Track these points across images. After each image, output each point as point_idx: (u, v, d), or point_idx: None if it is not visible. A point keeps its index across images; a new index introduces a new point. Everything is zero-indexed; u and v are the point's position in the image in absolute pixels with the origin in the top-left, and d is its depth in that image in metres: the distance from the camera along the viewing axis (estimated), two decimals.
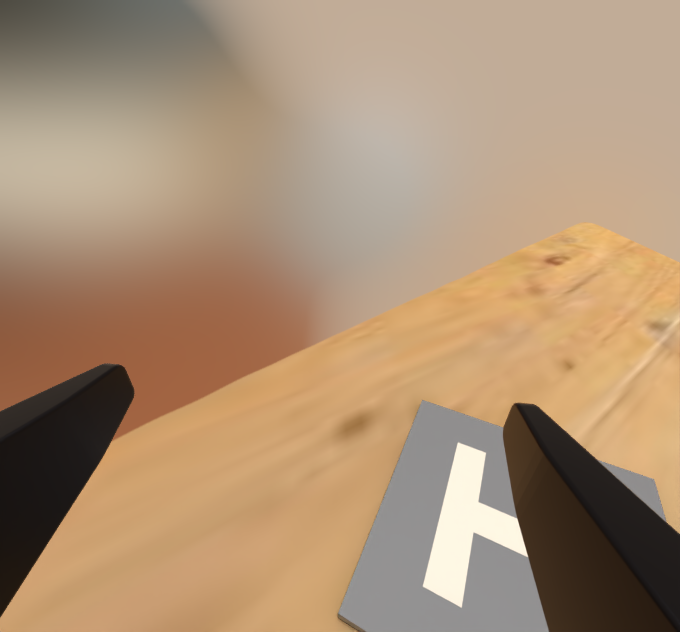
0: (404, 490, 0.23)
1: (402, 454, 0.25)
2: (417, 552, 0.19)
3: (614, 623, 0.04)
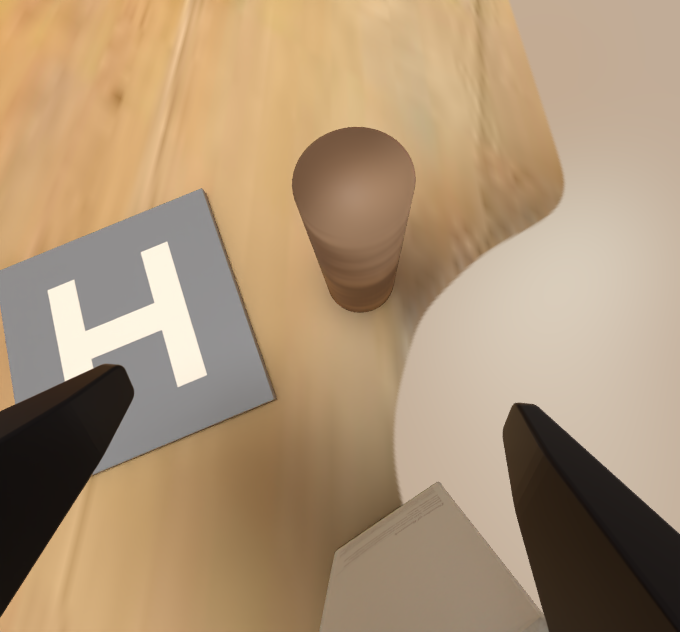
0: (26, 376, 0.23)
1: (8, 346, 0.23)
2: None
3: (614, 623, 0.04)
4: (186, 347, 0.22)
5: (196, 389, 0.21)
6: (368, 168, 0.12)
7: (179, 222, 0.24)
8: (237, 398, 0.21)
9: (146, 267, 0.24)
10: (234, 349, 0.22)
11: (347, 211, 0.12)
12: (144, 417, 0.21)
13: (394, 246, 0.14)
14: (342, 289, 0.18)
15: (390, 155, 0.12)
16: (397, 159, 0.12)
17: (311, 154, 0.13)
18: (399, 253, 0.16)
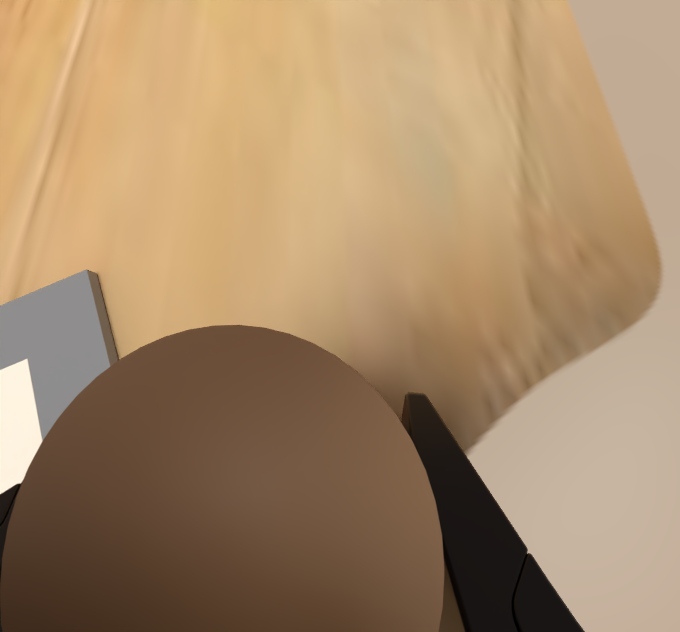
0: None
1: None
2: None
3: None
4: None
5: None
6: (269, 500, 0.03)
7: (49, 326, 0.15)
8: None
9: None
10: None
11: None
12: None
13: None
14: None
15: (350, 450, 0.03)
16: (375, 469, 0.03)
17: (83, 427, 0.04)
18: None
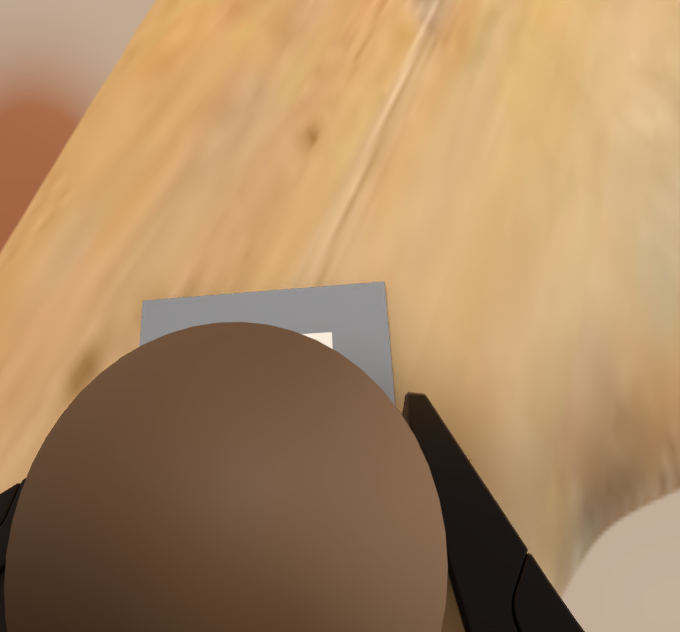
0: None
1: None
2: None
3: None
4: None
5: None
6: (274, 497, 0.03)
7: (350, 314, 0.21)
8: None
9: None
10: None
11: None
12: None
13: None
14: None
15: (354, 446, 0.03)
16: (379, 465, 0.03)
17: (87, 423, 0.04)
18: None
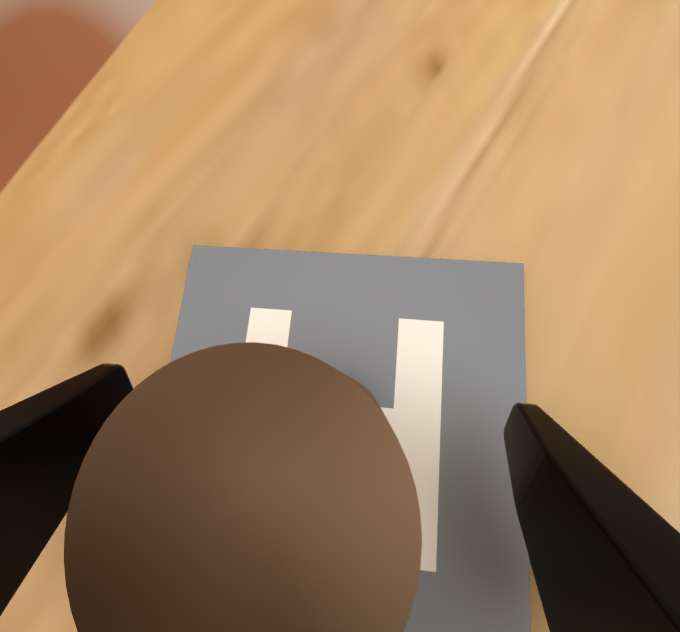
0: None
1: None
2: None
3: (615, 624, 0.04)
4: None
5: None
6: (282, 486, 0.04)
7: (472, 301, 0.16)
8: None
9: (399, 346, 0.15)
10: (492, 553, 0.13)
11: None
12: None
13: None
14: None
15: (347, 445, 0.04)
16: (367, 461, 0.04)
17: (128, 426, 0.04)
18: None
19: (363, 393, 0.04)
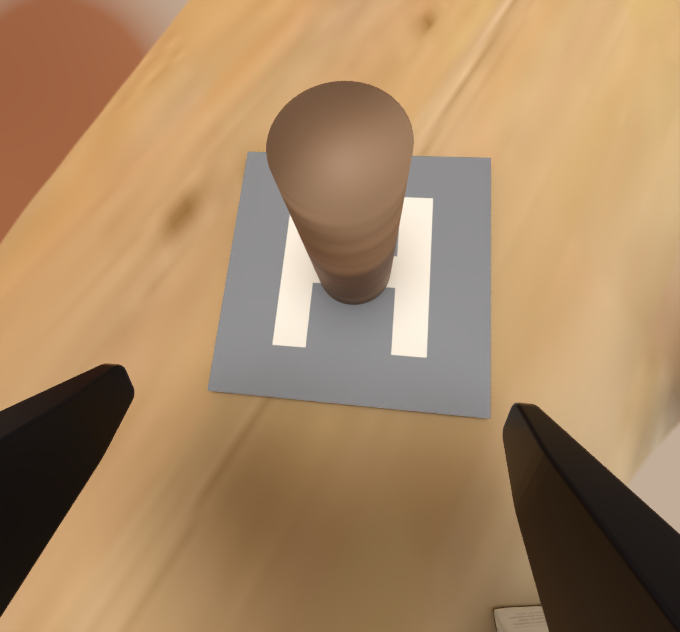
0: (243, 268, 0.22)
1: (236, 230, 0.22)
2: (264, 320, 0.21)
3: (614, 623, 0.04)
4: (414, 318, 0.20)
5: (409, 366, 0.19)
6: (357, 129, 0.10)
7: (453, 184, 0.22)
8: (450, 398, 0.19)
9: (401, 215, 0.21)
10: (465, 345, 0.19)
11: (332, 180, 0.10)
12: (346, 368, 0.20)
13: (389, 225, 0.12)
14: (332, 278, 0.16)
15: (383, 113, 0.10)
16: (391, 118, 0.10)
17: (289, 113, 0.11)
18: (396, 236, 0.14)
19: (389, 95, 0.10)
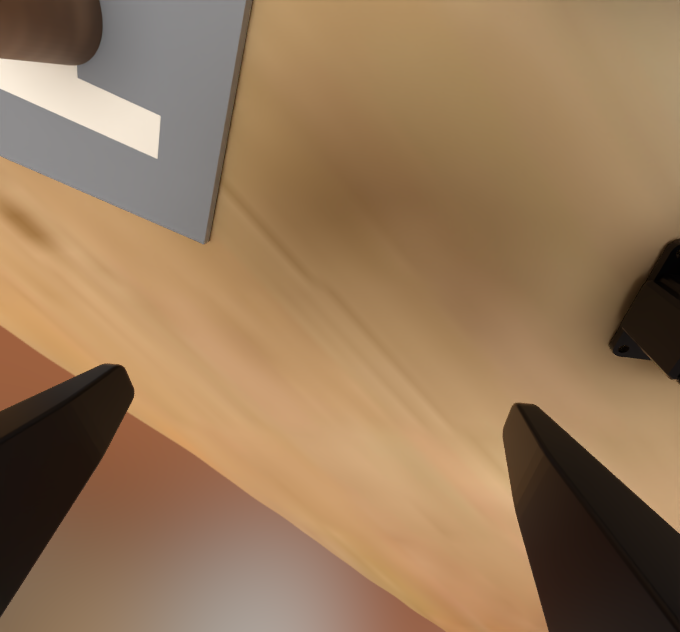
0: (70, 168, 0.18)
1: (26, 165, 0.18)
2: (129, 160, 0.17)
3: (614, 623, 0.04)
4: None
5: None
6: None
7: None
8: None
9: None
10: None
11: None
12: (187, 63, 0.15)
13: None
14: None
15: None
16: None
17: None
18: None
19: None
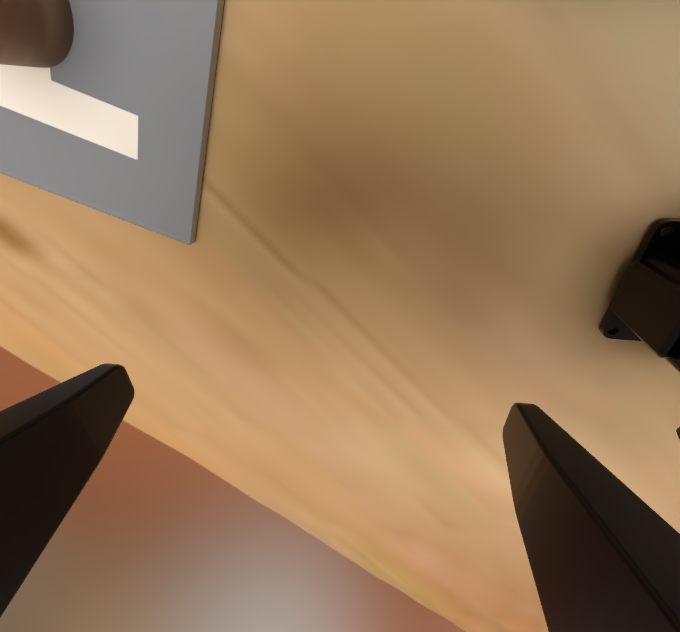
0: (49, 173, 0.18)
1: (3, 172, 0.18)
2: (108, 162, 0.17)
3: (614, 623, 0.04)
4: None
5: None
6: None
7: None
8: None
9: None
10: None
11: None
12: (162, 61, 0.14)
13: None
14: None
15: None
16: None
17: None
18: None
19: None
